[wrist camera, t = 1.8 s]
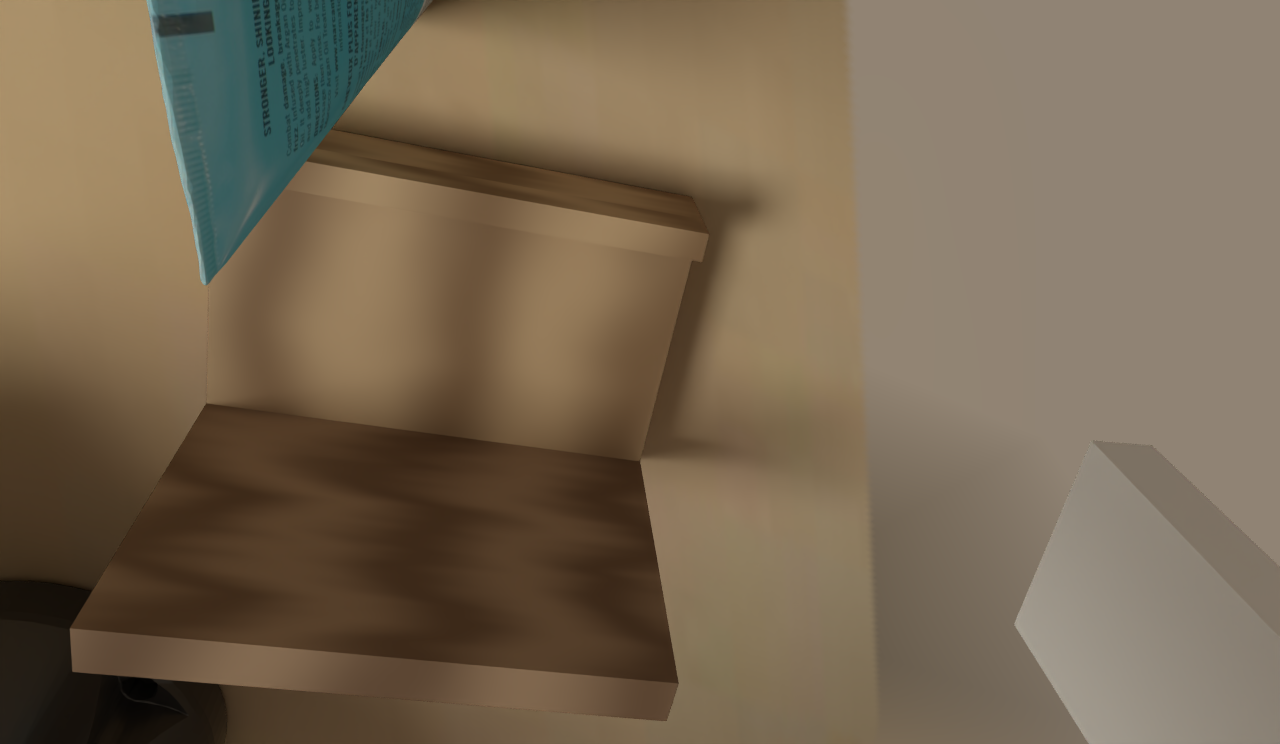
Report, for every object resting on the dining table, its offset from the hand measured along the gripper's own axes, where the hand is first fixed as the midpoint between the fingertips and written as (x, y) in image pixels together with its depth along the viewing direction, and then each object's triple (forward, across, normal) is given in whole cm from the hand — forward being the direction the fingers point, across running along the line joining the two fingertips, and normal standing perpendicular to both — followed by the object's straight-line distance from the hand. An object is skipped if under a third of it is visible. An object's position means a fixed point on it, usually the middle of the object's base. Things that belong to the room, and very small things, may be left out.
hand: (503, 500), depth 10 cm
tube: (+25, -5, +3) cm, 26 cm away
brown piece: (+25, -2, -9) cm, 27 cm away
